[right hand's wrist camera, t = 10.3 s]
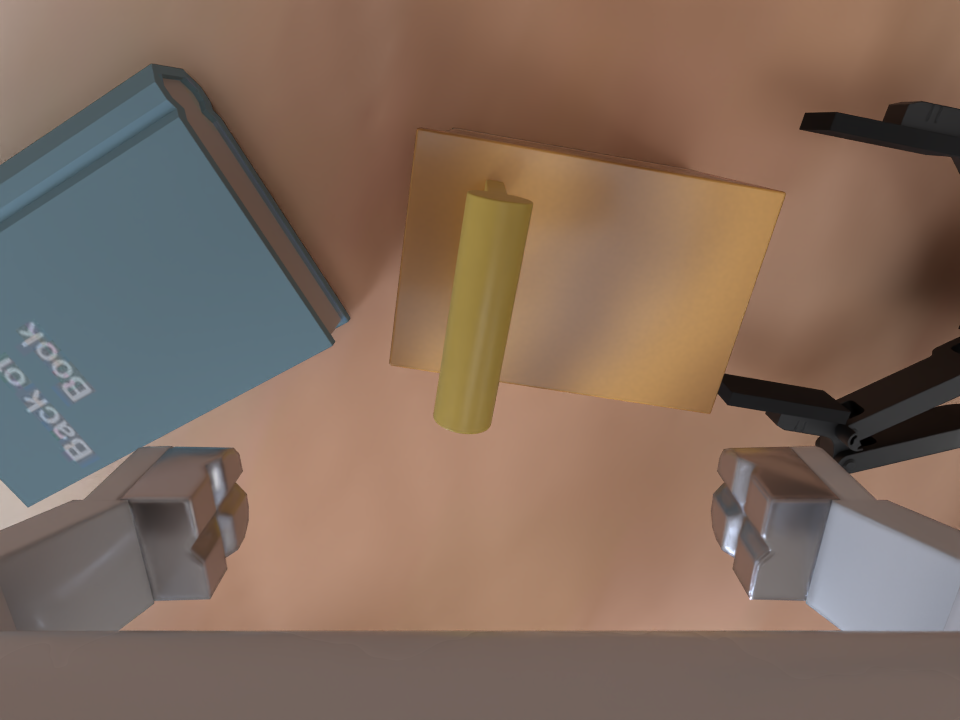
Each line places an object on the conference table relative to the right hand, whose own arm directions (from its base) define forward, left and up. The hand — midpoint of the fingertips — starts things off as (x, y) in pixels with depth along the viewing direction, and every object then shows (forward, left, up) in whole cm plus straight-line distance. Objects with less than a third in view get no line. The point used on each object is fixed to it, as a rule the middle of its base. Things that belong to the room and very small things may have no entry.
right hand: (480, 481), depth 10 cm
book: (-22, 0, -28) cm, 36 cm away
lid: (+4, -1, -17) cm, 18 cm away
